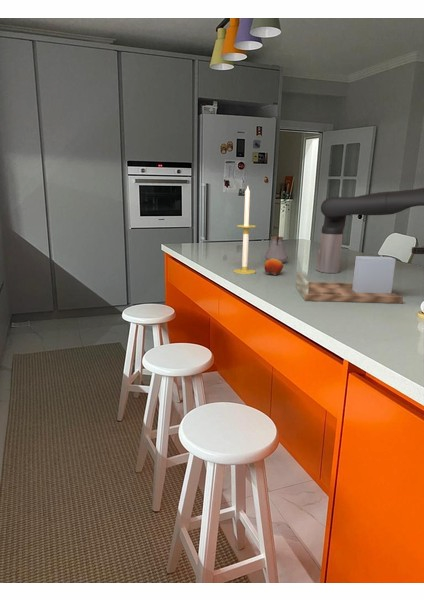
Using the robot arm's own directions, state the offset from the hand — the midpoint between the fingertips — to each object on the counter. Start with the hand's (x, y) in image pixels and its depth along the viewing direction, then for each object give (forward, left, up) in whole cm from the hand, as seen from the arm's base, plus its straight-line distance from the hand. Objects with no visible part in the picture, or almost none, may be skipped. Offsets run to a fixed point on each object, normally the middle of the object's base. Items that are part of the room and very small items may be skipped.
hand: (412, 250), depth 145 cm
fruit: (-55, -3, -17) cm, 58 cm away
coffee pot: (-69, +19, -17) cm, 73 cm away
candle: (-67, -8, -17) cm, 70 cm away
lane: (-16, -14, -16) cm, 27 cm away
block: (-9, -8, -15) cm, 19 cm away
